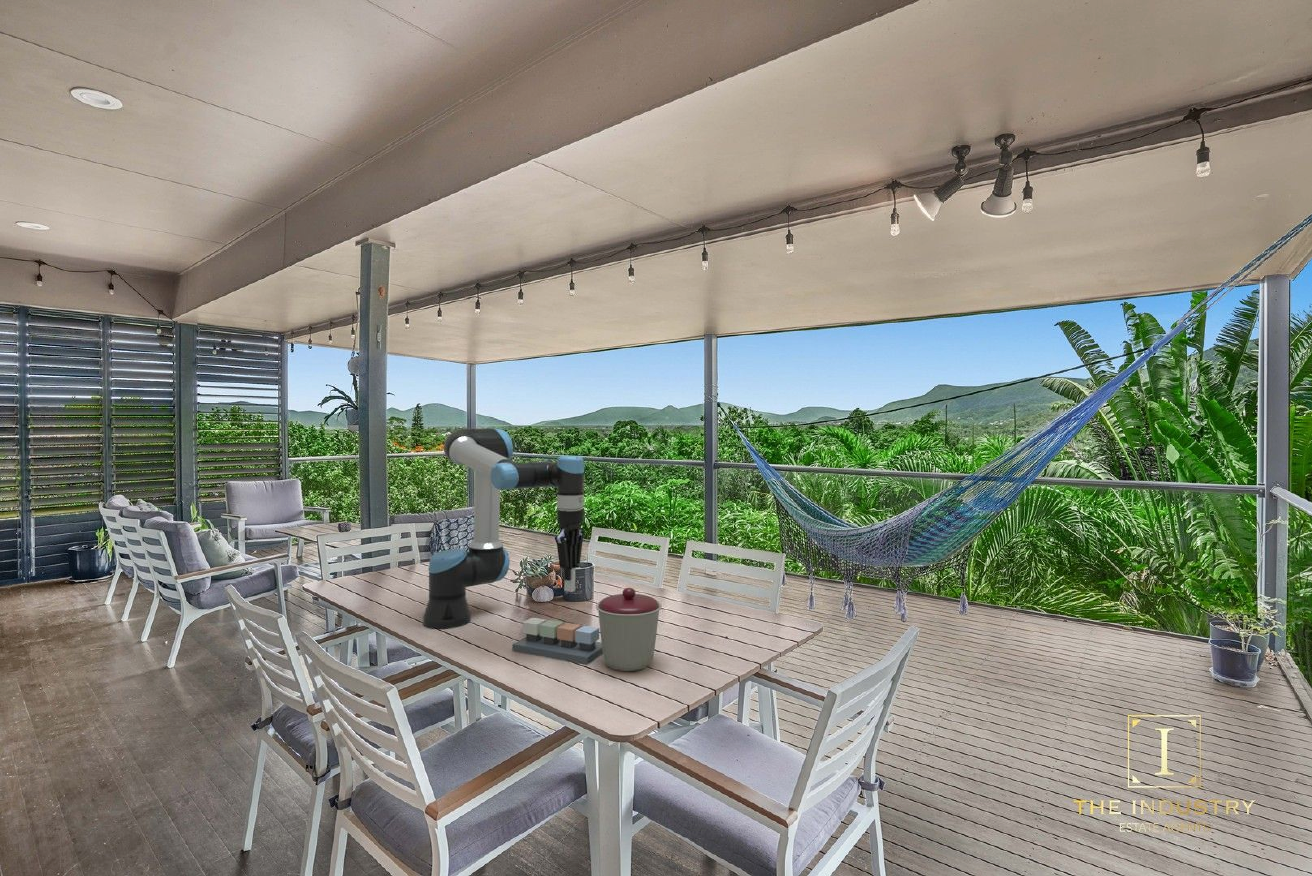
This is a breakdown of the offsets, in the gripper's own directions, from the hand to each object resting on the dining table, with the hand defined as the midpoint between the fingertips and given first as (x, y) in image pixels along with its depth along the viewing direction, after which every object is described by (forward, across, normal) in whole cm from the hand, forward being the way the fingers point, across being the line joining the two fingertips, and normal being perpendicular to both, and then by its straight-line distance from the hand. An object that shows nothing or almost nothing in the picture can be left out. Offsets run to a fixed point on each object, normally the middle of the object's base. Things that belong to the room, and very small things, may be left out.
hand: (569, 590), depth 173 cm
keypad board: (+18, 0, +3) cm, 18 cm away
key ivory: (+14, 0, +12) cm, 18 cm away
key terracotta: (+14, 0, 0) cm, 14 cm away
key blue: (+14, 0, -6) cm, 15 cm away
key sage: (+14, 0, +6) cm, 15 cm away
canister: (+18, -1, -19) cm, 27 cm away
